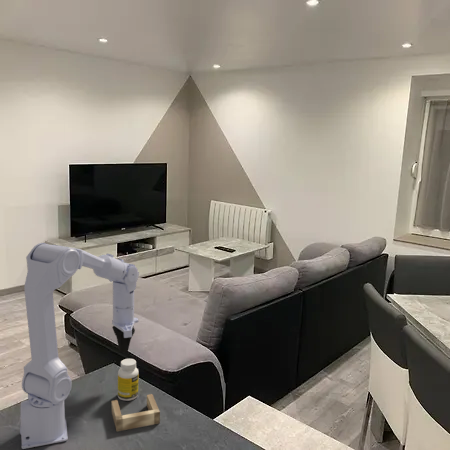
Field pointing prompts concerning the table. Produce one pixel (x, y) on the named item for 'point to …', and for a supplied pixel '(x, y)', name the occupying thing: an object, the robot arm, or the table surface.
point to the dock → (136, 416)
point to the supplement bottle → (128, 380)
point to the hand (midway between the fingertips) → (123, 351)
